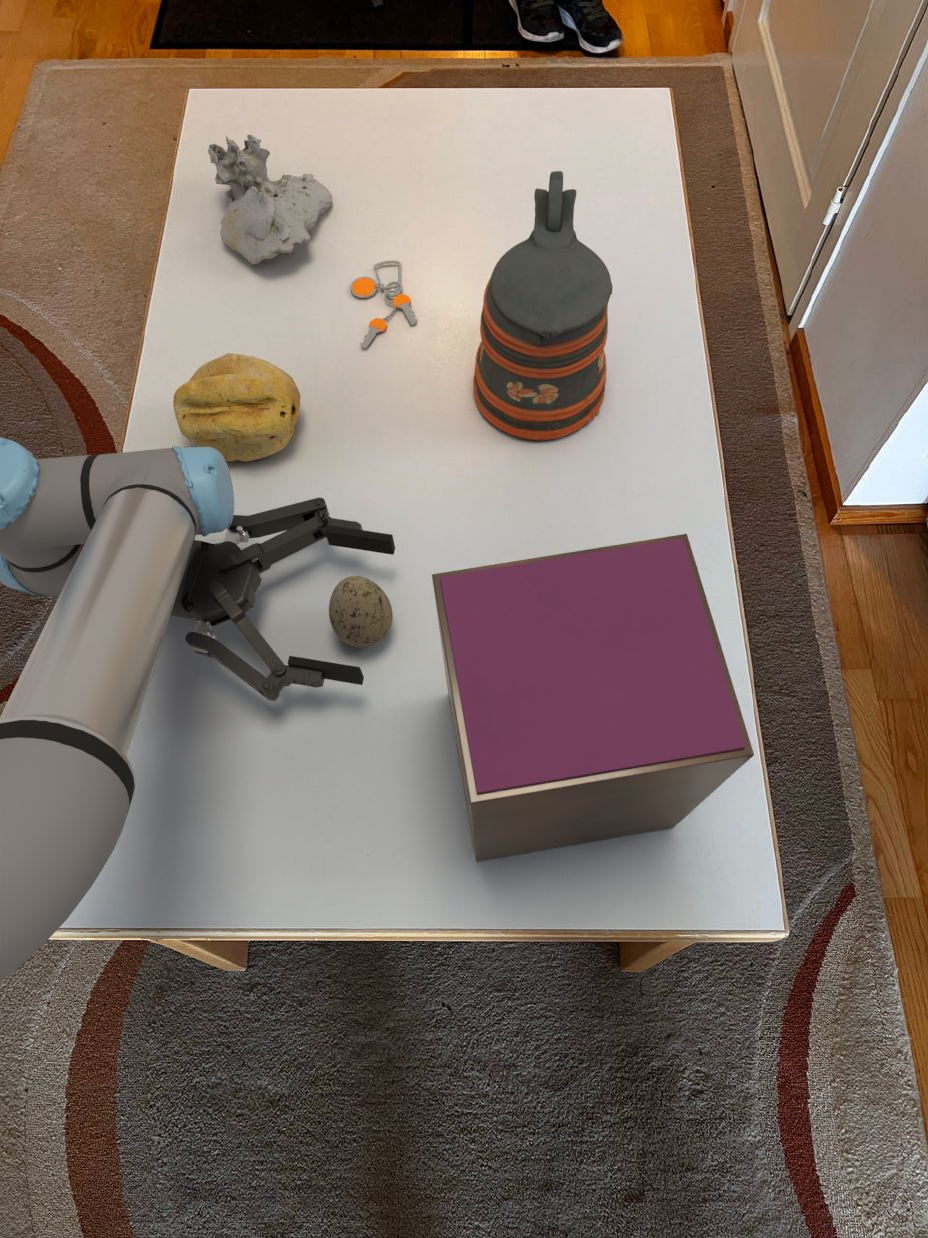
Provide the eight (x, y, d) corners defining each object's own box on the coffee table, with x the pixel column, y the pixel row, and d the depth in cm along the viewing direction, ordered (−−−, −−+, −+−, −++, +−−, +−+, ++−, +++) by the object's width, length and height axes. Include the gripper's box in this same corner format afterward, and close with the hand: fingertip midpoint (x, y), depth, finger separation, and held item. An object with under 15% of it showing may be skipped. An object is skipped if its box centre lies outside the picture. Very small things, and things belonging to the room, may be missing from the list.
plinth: (476, 862, 77) (470, 803, 54) (448, 693, 84) (431, 573, 60) (673, 828, 78) (754, 755, 54) (631, 663, 84) (687, 533, 61)
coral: (240, 197, 114) (210, 120, 106) (340, 188, 112) (317, 108, 103) (209, 280, 105) (173, 203, 97) (316, 271, 103) (289, 191, 94)
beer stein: (474, 308, 103) (470, 158, 84) (599, 306, 102) (623, 156, 84) (472, 442, 95) (468, 310, 77) (607, 442, 95) (635, 309, 76)
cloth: (476, 794, 54) (476, 793, 53) (440, 579, 60) (439, 576, 59) (744, 748, 54) (746, 747, 54) (681, 540, 60) (683, 537, 60)
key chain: (348, 268, 105) (347, 262, 105) (408, 260, 106) (407, 255, 105) (357, 350, 100) (356, 345, 99) (420, 342, 100) (420, 337, 100)
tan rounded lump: (184, 468, 95) (151, 412, 86) (200, 392, 99) (170, 330, 90) (300, 471, 94) (280, 415, 85) (311, 394, 98) (293, 333, 89)
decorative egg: (362, 669, 85) (346, 630, 76) (324, 628, 87) (304, 584, 78) (408, 631, 86) (398, 588, 77) (370, 591, 88) (356, 544, 79)
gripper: (211, 485, 91) (408, 514, 89) (133, 709, 82) (352, 747, 80) (188, 443, 84) (401, 473, 82) (100, 683, 75) (339, 724, 73)
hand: (378, 608), depth 81 cm, fingers open, 13 cm apart
